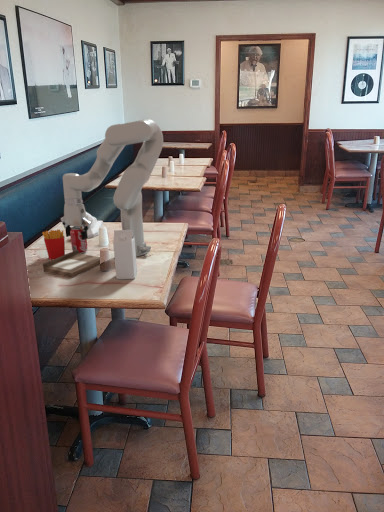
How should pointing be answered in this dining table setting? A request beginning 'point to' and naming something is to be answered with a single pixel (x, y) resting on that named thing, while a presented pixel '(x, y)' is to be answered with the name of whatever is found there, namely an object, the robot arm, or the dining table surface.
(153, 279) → the dining table surface
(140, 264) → the dining table surface
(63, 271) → the wooden tray
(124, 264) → the milk carton
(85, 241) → the soda can
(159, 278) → the dining table surface
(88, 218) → the crumpled white paper
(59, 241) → the french fries
